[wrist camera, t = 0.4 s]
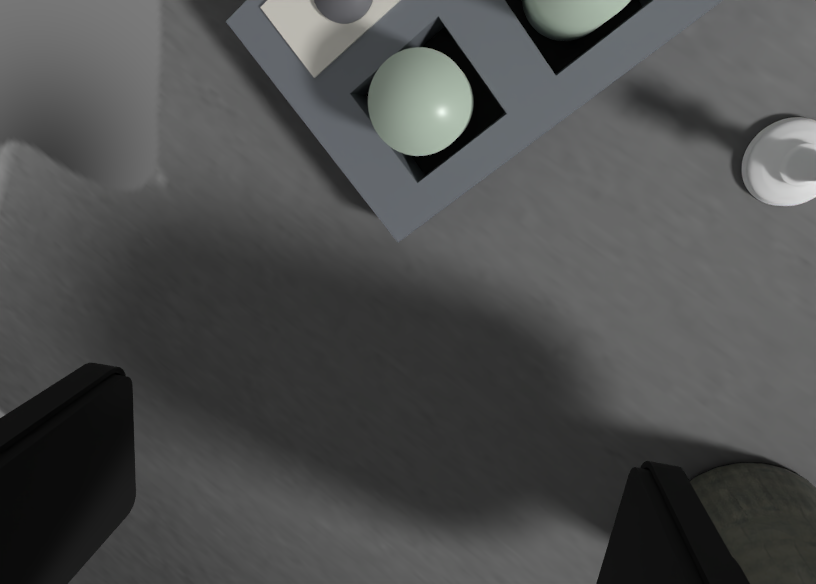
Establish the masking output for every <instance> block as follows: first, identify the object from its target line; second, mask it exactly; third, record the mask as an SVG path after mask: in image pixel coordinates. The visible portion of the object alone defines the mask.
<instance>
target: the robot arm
mask: <svg viewBox="0 0 816 584" xmlns="http://www.w3.org/2000/svg"><path fill="white" fill-rule="evenodd" d="M135 497H136V483H135V452H134V421H133V390H132V381H131V379H130V378H129V377H126V376H125V373H124V371H123V369H121V368H120V367H114V366H108V365H103V364H97V363H87V364H85V365H83V366H82V367H80V368H79V369H77V370H75V371H74V372H72V373H71V374H69V375H68V376H66V377H64V378H63V379H61V380H60V381H58V382H57V383H55V384H53V385H52V386H50V387H49V388H47V389H46V390H44V391H42V392H41V393H39V394H38V395H36V396H35V397H33V398H31V399H30V400H28V401H27V402H25V403H24V404H22V405H20V406H19V407H17V408H16V409H14V410H13V411H11V412H9V413H8V414H6V415H5V416H3V417H2V418H0V584H68V583H69V581H70V580H71V579H72V578H73V577H74V576H75V575H76V574H77V572H78V571H79V570H80V569H81V568H82V567H83V566H84V564H85V563H86V562H87V561H88V560H89V559H90V558H91V556H92V555H93V554H94V553H95V552H96V551H97V550H98V548H99V547H100V546H101V545H102V544H103V543H104V542H105V540H106V539H107V538H108V537H109V536H110V535H111V534H112V532H113V531H114V530H115V529H116V528H117V527H118V526H119V524H120V523H121V522H122V521H123V520H124V519H125V518H126V517H127V515H128V514H129V513H130V511H131V509H132V507H133V504H134V502H135ZM597 584H750V583H749V581H748V579H747V577H746V576H745V574H744V572H743V570H742V569H741V567H740V565H739V564H738V563H737V561H736V560H735V559H734V558H733V557H732V555H731V554H730V552H729V550H728V548H727V547H726V545H725V543H724V541H723V540H722V538H721V536H720V534H719V533H718V531H717V529H716V527H715V525H714V524H713V522H712V520H711V518H710V517H709V515H708V513H707V511H706V510H705V508H704V506H703V504H702V503H701V501H700V499H699V497H698V496H697V494H696V492H695V490H694V488H693V487H692V485H691V483H690V481H689V480H688V478H687V476H686V474H685V473H684V471H683V470H682V469H681V467H678V466H672V465H667V464H661V463H655V462H650V461H646V462H644V463H643V464H642V466H641V468H636V467H634V468H632V469H631V471H630V473H629V476H628V480H627V483H626V486H625V490H624V493H623V496H622V500H621V503H620V506H619V510H618V513H617V516H616V520H615V523H614V527H613V530H612V533H611V537H610V540H609V543H608V547H607V550H606V553H605V557H604V560H603V563H602V567H601V570H600V574H599V577H598V580H597Z"/></svg>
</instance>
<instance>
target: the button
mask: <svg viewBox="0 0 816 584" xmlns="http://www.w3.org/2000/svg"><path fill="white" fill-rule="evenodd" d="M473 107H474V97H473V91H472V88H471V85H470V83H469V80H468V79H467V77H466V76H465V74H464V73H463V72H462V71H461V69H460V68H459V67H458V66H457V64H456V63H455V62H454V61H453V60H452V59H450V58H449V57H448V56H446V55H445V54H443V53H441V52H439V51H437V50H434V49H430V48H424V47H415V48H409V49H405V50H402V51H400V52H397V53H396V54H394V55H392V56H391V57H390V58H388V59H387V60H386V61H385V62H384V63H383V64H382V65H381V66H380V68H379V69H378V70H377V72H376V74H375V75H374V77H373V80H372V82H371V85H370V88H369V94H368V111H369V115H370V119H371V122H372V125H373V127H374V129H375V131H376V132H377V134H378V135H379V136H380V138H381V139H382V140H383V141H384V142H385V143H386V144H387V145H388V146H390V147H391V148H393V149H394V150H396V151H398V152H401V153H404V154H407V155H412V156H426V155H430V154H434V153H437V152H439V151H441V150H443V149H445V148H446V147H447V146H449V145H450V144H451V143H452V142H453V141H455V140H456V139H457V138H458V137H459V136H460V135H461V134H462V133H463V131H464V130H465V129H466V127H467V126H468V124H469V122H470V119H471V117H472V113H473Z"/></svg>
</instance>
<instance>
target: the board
mask: <svg viewBox="0 0 816 584" xmlns="http://www.w3.org/2000/svg"><path fill="white" fill-rule="evenodd" d="M721 1H723V0H639V2H640V3H641V5H642V7H641V8H640V9H638V10H637V11H636V12H634V13H633V14H632V15H631V16H629V17H628V18H627V19H625V20H624V21H623V22H622V23H620V24H619V25H618V26H616V27H615V28H614V29H613V30H611V31H610V32H609V33H607V34H606V35H605V36H604V37H602V38H601V39H600V40H598V41H597V42H596V43H595V44H593V45H592V46H591V47H589V48H588V49H587V50H586V51H584V52H583V53H582V54H580V55H579V56H578V57H577V58H575V59H574V60H573V61H571V62H570V63H569V64H568V65H566V66H565V67H564V68H562V69H561V70H560V71H559V72H557V73H556V74H554V72H553V71H552V69H551V68H550V66H549V65H548V63H547V62H546V60H545V59H544V57H543V56H542V54H541V53H540V51H539V50H538V48H537V47H536V46H535V44H534V43H533V41H532V40H531V38H530V37H529V35H528V34H527V32H526V31H525V29H524V28H523V26H522V25H521V23H520V22H519V20H518V19H517V17H516V16H515V15H514V13H513V12H512V10H511V9H510V7H509V6H508V4H507V3H506V1H505V0H246V1H245V2H244V3H243V4H242V5H241V6H240V7H239V8H238V9H237V10H236V11H235V12H234V14H233V15H232V16H231V17H230V18H229V19H228V20H227V21H226V22H227V24H228V25H229V26H230V28H231V29H232V30H233V31H234V33H235V34H236V35H237V37H238V38H239V39H240V40H241V42H242V43H243V44H244V46H245V47H246V48H247V49H248V51H249V52H250V53H251V55H252V56H253V57H254V58H255V60H256V61H257V62H258V64H259V65H260V66H261V67H262V69H263V70H264V71H265V73H266V74H267V75H268V76H269V78H270V79H271V80H272V82H273V83H274V84H275V85H276V87H277V88H278V89H279V91H280V92H281V93H282V94H283V96H284V97H285V98H286V100H287V101H288V102H289V103H290V105H291V106H292V107H293V109H294V110H295V111H296V112H297V114H298V115H299V116H300V118H301V119H302V120H303V121H304V123H305V124H306V125H307V127H308V128H309V129H310V130H311V132H312V133H313V134H314V136H315V137H316V138H317V139H318V141H319V142H320V143H321V145H322V146H323V147H324V148H325V150H326V151H327V152H328V154H329V155H330V156H331V157H332V159H333V160H334V161H335V163H336V164H337V165H338V166H339V168H340V169H341V170H342V172H343V173H344V174H345V175H346V177H347V178H348V179H349V181H350V182H351V183H352V184H353V186H354V187H355V188H356V190H357V191H358V192H359V193H360V195H361V196H362V197H363V199H364V200H365V201H366V202H367V204H368V205H369V206H370V208H371V209H372V210H373V211H374V213H375V214H376V215H377V217H378V218H379V219H380V220H381V222H382V223H383V224H384V226H385V227H386V228H387V229H388V231H389V232H390V233H391V235H392V236H393V237H394V238H395V240H396V241H397V242H399V241H401V240H402V239H403V238H405V237H406V236H407V235H409V234H410V233H411V232H413V231H414V230H415V229H417V228H418V227H420V226H421V225H422V224H424V223H425V222H426V221H428V220H429V219H430V218H432V217H433V216H434V215H436V214H437V213H438V212H440V211H441V210H442V209H444V208H445V207H446V206H448V205H449V204H450V203H452V202H453V201H454V200H456V199H457V198H458V197H460V196H461V195H462V194H464V193H465V192H466V191H468V190H469V189H470V188H472V187H473V186H474V185H476V184H477V183H479V182H480V181H481V180H483V179H484V178H485V177H487V176H488V175H489V174H491V173H492V172H493V171H495V170H496V169H497V168H499V167H500V166H501V165H503V164H504V163H505V162H507V161H508V160H509V159H511V158H512V157H513V156H515V155H516V154H517V153H519V152H520V151H521V150H523V149H524V148H525V147H527V146H528V145H529V144H531V143H532V142H533V141H535V140H536V139H538V138H539V137H540V136H542V135H543V134H544V133H546V132H547V131H548V130H550V129H551V128H552V127H554V126H555V125H556V124H558V123H559V122H560V121H562V120H563V119H564V118H566V117H567V116H568V115H570V114H571V113H572V112H574V111H575V110H576V109H578V108H579V107H580V106H582V105H583V104H584V103H586V102H587V101H588V100H590V99H591V98H592V97H594V96H595V95H597V94H598V93H599V92H601V91H602V90H603V89H605V88H606V87H607V86H609V85H610V84H611V83H613V82H614V81H615V80H617V79H618V78H619V77H621V76H622V75H623V74H625V73H626V72H627V71H629V70H630V69H631V68H633V67H634V66H635V65H637V64H638V63H639V62H641V61H642V60H643V59H645V58H646V57H647V56H649V55H650V54H651V53H653V52H654V51H656V50H657V49H658V48H660V47H661V46H662V45H664V44H665V43H666V42H668V41H669V40H670V39H672V38H673V37H674V36H676V35H677V34H678V33H680V32H681V31H682V30H684V29H685V28H686V27H688V26H689V25H690V24H692V23H693V22H694V21H696V20H697V19H698V18H700V17H701V16H702V15H704V14H705V13H706V12H708V11H709V10H710V9H712V8H713V7H715V6H716V5H717V4H719V3H720V2H721ZM443 27H445V28H446V30H447V31H448V32H449V34H450V35H451V37H452V38H453V40H454V41H455V42H456V44H457V45H458V47H459V48H460V49H461V51H462V52H463V54H464V55H465V57H466V58H467V59H468V61H469V62H470V64H471V65H472V66H473V68H474V69H475V71H476V72H477V74H478V75H479V76H480V78H481V79H482V81H483V82H484V84H485V85H486V86H487V88H488V89H489V91H490V92H491V93H492V95H493V96H494V98H495V99H496V101H497V102H498V103H499V105H500V106H501V108H502V109H503V111H504V112H505V113H504V114H503V115H502V116H501V117H499V118H498V119H497V120H495V121H494V122H493V123H492V124H490V125H489V126H488V127H486V128H485V129H484V130H483V131H481V132H480V133H479V134H477V135H476V136H475V137H474V138H472V139H471V140H470V141H468V142H467V143H466V144H465V145H463V146H462V147H461V148H459V149H458V150H457V151H456V152H454V153H453V154H452V155H450V156H449V157H448V158H447V159H445V160H444V161H443V162H441V163H440V164H439V165H438V166H436V167H435V168H434V169H432V170H431V171H430V172H429V173H427V174H426V175H425V174H424V173H423V171H422V170H421V169H420V167H419V166H418V165H417V163H416V162H415V161H414V159H413V158H412V157H411V155H407V154H404V153H401V152H398V151H396V150H394V149H393V148H391V147H390V146H388V145H387V144H386V143H385V142H384V141H383V140H382V139H381V138H380V136H379V135H378V134H377V132H376V131H375V129H374V127H373V125H372V122H371V119H370V115H369V111H368V98H367V96H366V94H367V93H368V92H369V88H370V85H371V82H372V80H373V77H374V75H375V74H376V72H377V70H378V69H379V68H380V66H381V65H382V64H383V63H384V62H385V61H386V60H387V59H388V58H390V57H391V56H392V55H394V54H396V53H397V52H400V51H402V50H405V49H409V48H415V47H421V46H423V45H424V44H425V43H426V42H427V41H428V40H430V39H431V38H432V37H433V36H434V35H435V34H437V33H438V32H439V31H440V30H441V29H442V28H443Z"/></svg>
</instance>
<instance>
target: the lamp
mask: <svg viewBox="0 0 816 584" xmlns="http://www.w3.org/2000/svg"><path fill="white" fill-rule="evenodd" d="M690 483H691V485H692V487H693V488H694V490H695V492H696V494H697V496H698V497H699V499H700V501H701V503H702V504H703V506H704V508H705V510H706V511H707V513H708V515H709V517H710V518H711V520H712V522H713V524H714V525H715V527H716V529H717V531H718V533H719V534H720V536H721V538H722V540H723V541H724V543H725V545H726V547H727V548H728V550H729V552H730V554H731V555H732V557H733V558H734V559H735V560H736V561H737V563H738V564H739V565H740V567H741V569H742V570H743V572H744V574H745V576H746V577H747V579H748V581H749V583H750V584H816V487H814V486H813V485H812V484H811V483H810V482H809V481H808V480H807V479H805V478H804V477H802V476H800V475H798V474H796V473H794V472H792V471H790V470H788V469H785V468H782V467H778V466H773V465H769V464H764V463H737V464H732V465H727V466H722V467H717V468H715V469H712V470H710V471H708V472H705V473H703V474H701V475H698V476H697V477H695V478H694V479H692V480H691V481H690Z"/></svg>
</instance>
